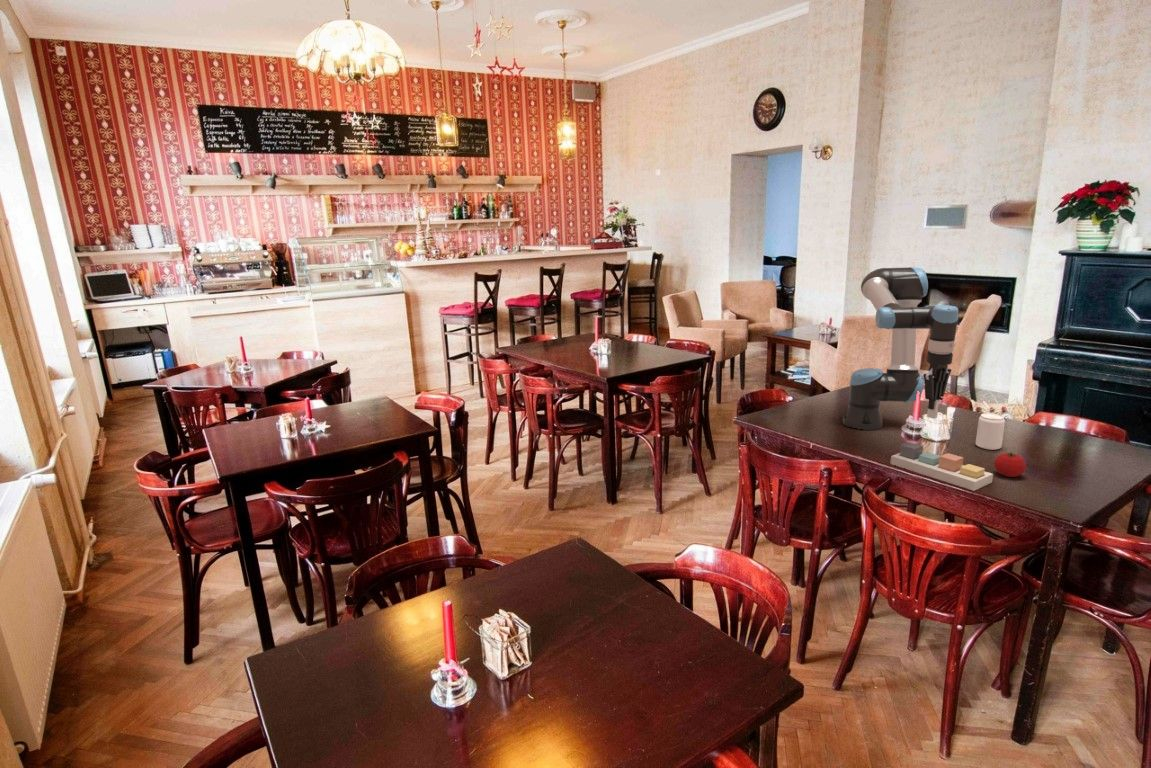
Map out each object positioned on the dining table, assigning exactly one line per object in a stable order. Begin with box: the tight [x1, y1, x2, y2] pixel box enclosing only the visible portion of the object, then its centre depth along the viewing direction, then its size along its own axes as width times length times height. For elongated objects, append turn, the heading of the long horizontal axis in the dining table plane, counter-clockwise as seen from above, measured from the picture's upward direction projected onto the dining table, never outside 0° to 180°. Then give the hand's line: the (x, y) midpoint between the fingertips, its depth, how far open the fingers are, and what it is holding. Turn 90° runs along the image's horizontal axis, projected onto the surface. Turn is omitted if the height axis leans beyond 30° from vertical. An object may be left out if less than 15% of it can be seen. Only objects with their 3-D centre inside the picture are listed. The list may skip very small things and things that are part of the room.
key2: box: [919, 451, 941, 466], centre depth 214 cm, size 5×5×4 cm
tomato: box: [993, 452, 1027, 478], centre depth 208 cm, size 9×9×8 cm
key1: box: [899, 441, 924, 460], centre depth 220 cm, size 5×5×4 cm
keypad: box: [889, 452, 994, 492], centre depth 212 cm, size 28×11×3 cm, turn 32°
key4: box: [960, 463, 986, 479], centre depth 203 cm, size 5×5×4 cm
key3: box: [939, 452, 964, 472], centre depth 208 cm, size 5×5×4 cm
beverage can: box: [975, 412, 1006, 451], centre depth 232 cm, size 8×8×12 cm
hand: (931, 417), depth 219 cm, fingers closed
